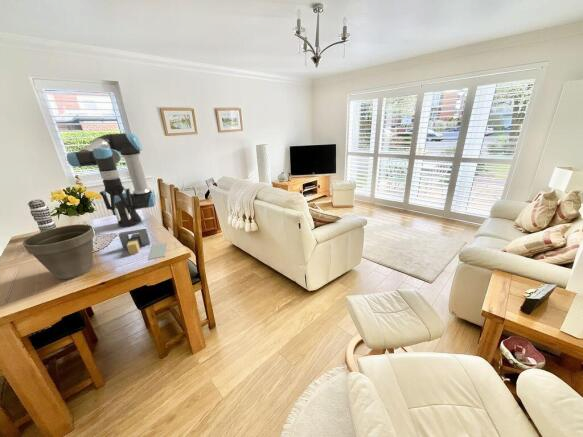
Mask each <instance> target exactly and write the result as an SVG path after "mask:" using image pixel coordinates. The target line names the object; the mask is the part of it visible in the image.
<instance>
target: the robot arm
mask: <svg viewBox="0 0 583 437" xmlns="http://www.w3.org/2000/svg"><path fill="white" fill-rule="evenodd" d="M142 149H143V148H142V143H141V142H140V139H139V138H138V136H137V135H136V134H135V133H131V132H123V133H107V134H104V135H100V136H98V137H96V138H94V139H92V141H91V143H89V145H87V146H85V147H84V148H81V149H80V150H78V151H70V152H67V153H66V161H67V162H68V164H69V165H70V166H71V167H73V168H76V167H77V168H79V167H80V168H81V167H92V166H94V167H95V166H97V169H98V171H99V174H100V177H101V179H102V183H103V186H104V190H102V191H100V192H99V195H100V196H101V197H102V199H103V203H104V204H105V208H106V209H107V210H111V211H112V215H113V216H115V217H116V220H117V224H118V225H117V226H118V227H120V228H121V227H122V228H126V227H131V226H132V227H133V226H135V225H138V224H140V223H142V218H141V216H140V215H139V213H138V212H137V211H136V210H139V209H140V210H141V209H149V208H154V207H155V205H156V193H155V192H154V191H152V189H151V188H150V187H148V184H147V180H146V177H145V174H144V170H143V167H142V162H141V160H140V154H141V151H142ZM122 158H124V160H125V163H126V167H127V171H128V174H129V176H130V180H131V183H132V185H133V186H132V187H133V188H134V190H133V191H132V193H131V188H130V187H128V188H126V187H124V186H123V184H122V180H121V178H120V174H119V171H118V168H117V165H116V164H118V163H120V161H121V159H122ZM107 194H108V195H109V198H110V202H109V198H108V195H107Z"/></svg>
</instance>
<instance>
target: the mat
mask: <svg viewBox="0 0 583 437" xmlns="http://www.w3.org/2000/svg"><path fill="white" fill-rule="evenodd" d="M167 244H168V243H167V242H161V243H157V244H152V246H151V250H150V253H149V256H148V261H150V260H155V259H159V258H164V257H165V256H166V252H167Z"/></svg>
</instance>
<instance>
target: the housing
mask: <svg viewBox="0 0 583 437" xmlns="http://www.w3.org/2000/svg"><path fill="white" fill-rule="evenodd" d="M138 233H139V235H140V238H141V242H142V245H141V246H143V247H144V246H150V244H151V241H150V237H149V234H148V230H147V228H140V229H133V230H128V231H123V232H119V233H118V238H119V240H120V244H121V246H122V249H123V250H128V248H127V244H128V242H129V240H130V237H129V235H132V234H138Z"/></svg>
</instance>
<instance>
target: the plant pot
mask: <svg viewBox="0 0 583 437" xmlns="http://www.w3.org/2000/svg"><path fill="white" fill-rule="evenodd" d="M94 237H95V232H94V228H93V226H92V225H90V224H83V223H82V224H70V225H64V226H59V227H56V228H54V229H50V230H47V231H44V232H41V231H40V232H38V233H35V234H33V235H31V236H29V237H27V238H25V240H24V241H23V242H22V245H23V247H24V248H25V250H26V252H27V253H28V255H29V254H30V255H32V256H33V257H35V259H36V260H37V261H38V262H40V264H42V266H44V268H46V270H48V271H49V273H50V274H52V275H53V276H54V277H55V278H57V280H58V279H59V280H69V279H70V280H71V279H72V278H73V279H74V278H76V277H79V276H82V275H84V274H86V273H88V272H89V271H91V269H92V268H93V265H94Z"/></svg>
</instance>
